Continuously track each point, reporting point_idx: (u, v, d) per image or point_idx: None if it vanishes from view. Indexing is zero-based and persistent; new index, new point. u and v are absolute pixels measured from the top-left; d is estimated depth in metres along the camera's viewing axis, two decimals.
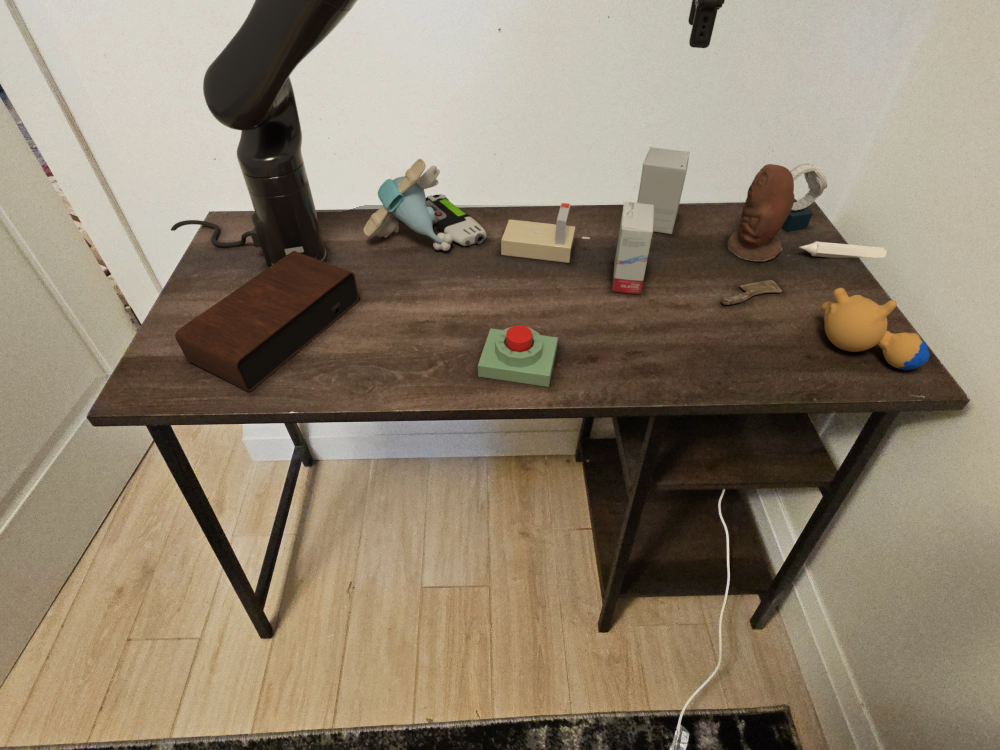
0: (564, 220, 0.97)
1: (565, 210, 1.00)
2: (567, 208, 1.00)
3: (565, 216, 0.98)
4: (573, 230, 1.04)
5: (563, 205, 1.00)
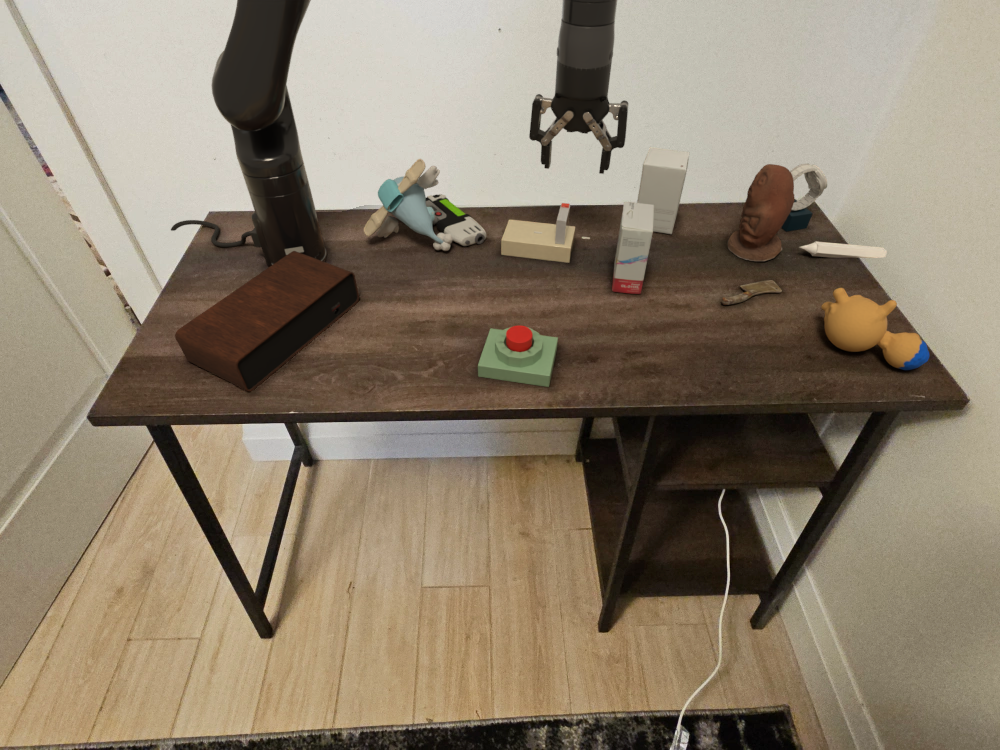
0: (564, 220, 0.97)
1: (565, 210, 1.00)
2: (567, 208, 1.00)
3: (565, 216, 0.98)
4: (573, 230, 1.04)
5: (563, 205, 1.00)
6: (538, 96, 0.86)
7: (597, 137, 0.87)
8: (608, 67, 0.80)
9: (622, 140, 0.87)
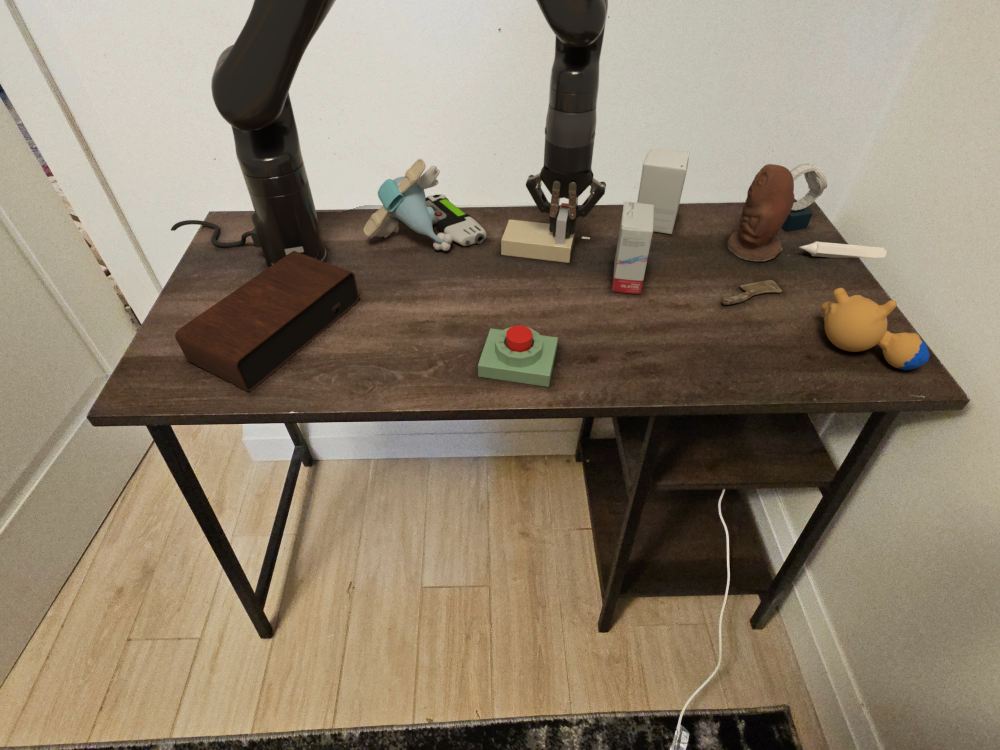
0: (564, 220, 0.97)
1: (565, 210, 1.00)
2: (567, 208, 1.00)
3: (565, 216, 0.98)
4: None
5: (563, 205, 1.00)
6: (529, 177, 0.96)
7: (570, 205, 0.96)
8: (591, 145, 0.89)
9: (585, 210, 0.97)
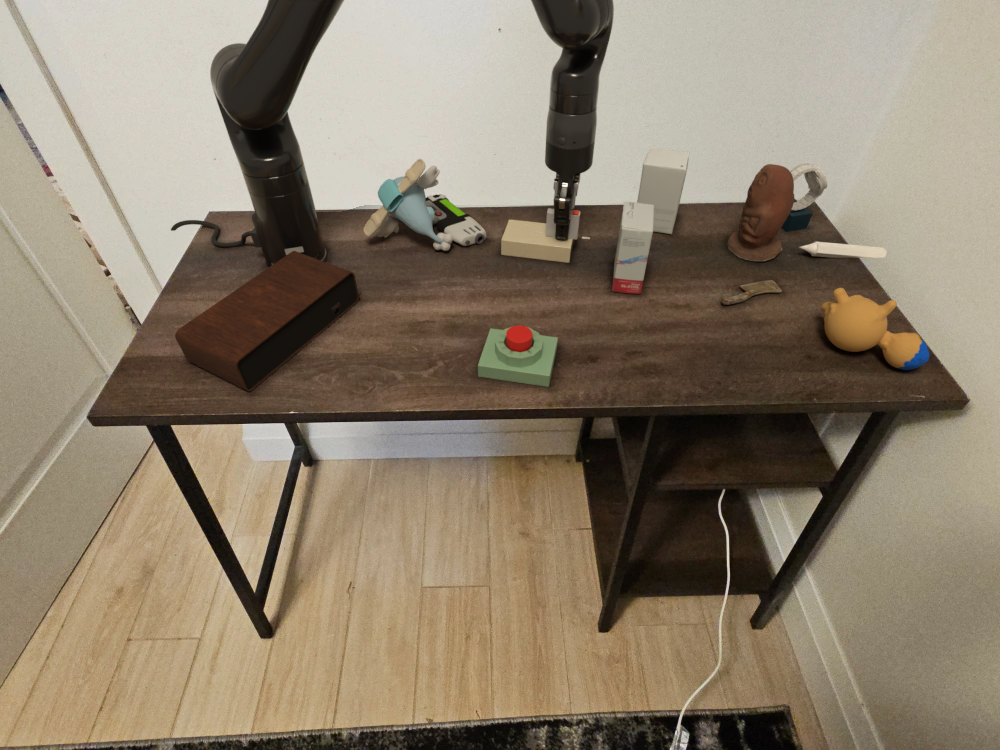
0: (548, 212, 0.99)
1: None
2: (571, 214, 0.99)
3: None
4: None
5: (574, 211, 0.99)
6: None
7: None
8: (558, 149, 0.89)
9: None
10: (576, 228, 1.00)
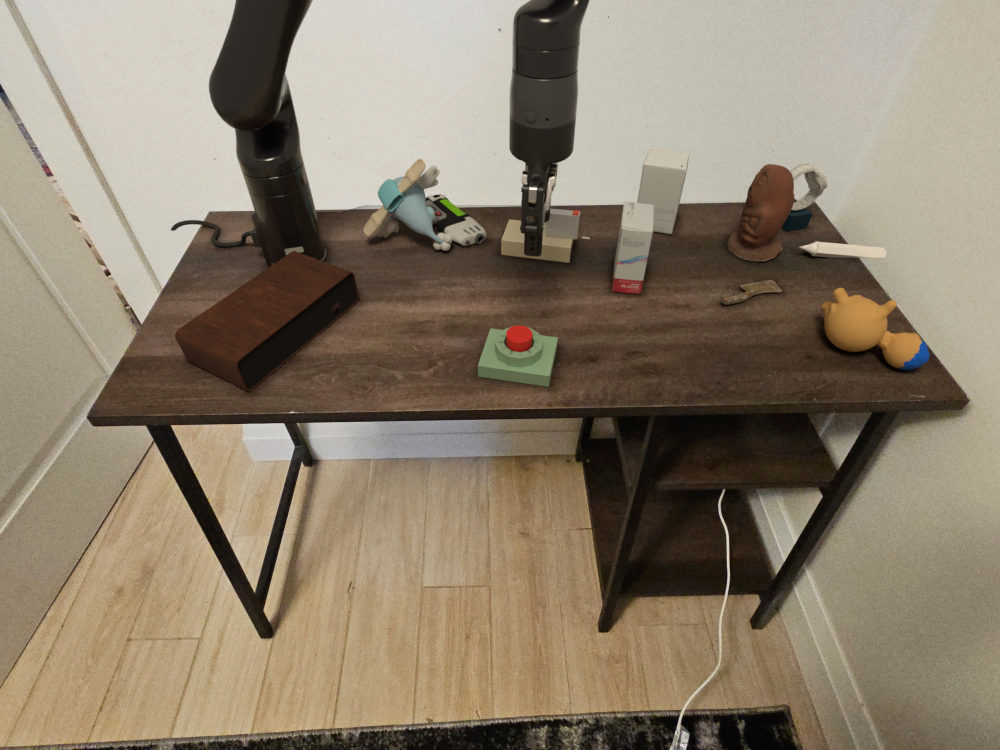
0: None
1: (567, 213, 0.99)
2: (571, 214, 0.99)
3: (555, 212, 0.99)
4: None
5: (574, 211, 0.99)
6: None
7: None
8: (525, 129, 0.65)
9: None
10: (576, 228, 1.00)
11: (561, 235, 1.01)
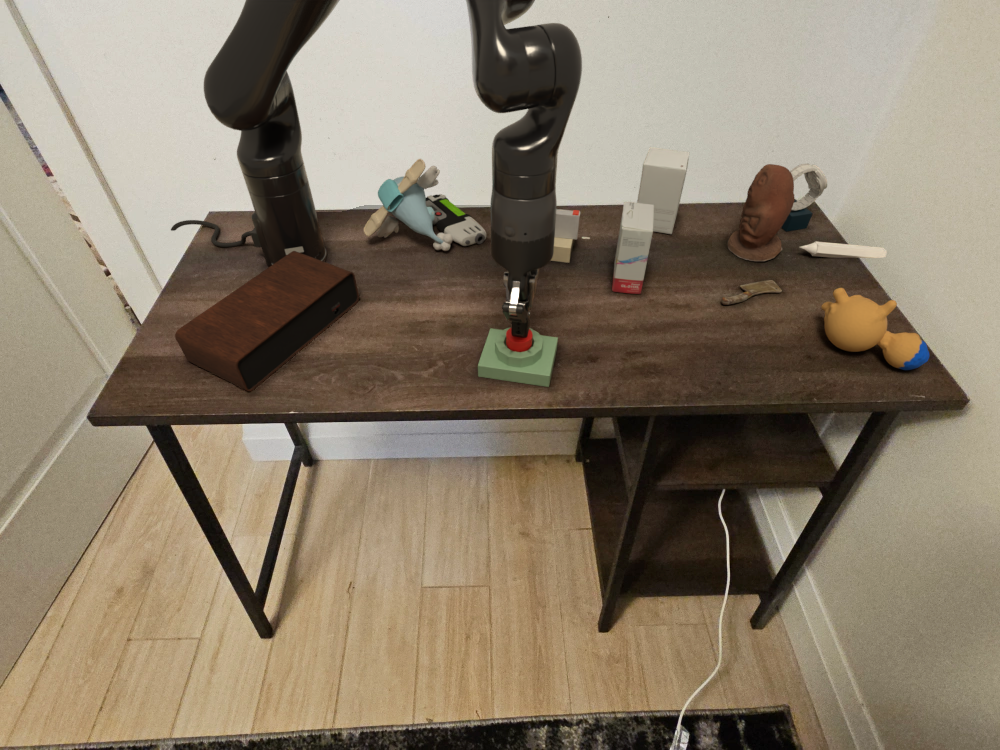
0: None
1: (567, 213, 0.99)
2: (571, 214, 0.99)
3: None
4: None
5: (574, 211, 0.99)
6: None
7: None
8: (505, 241, 0.67)
9: None
10: (576, 228, 1.00)
11: (561, 235, 1.01)
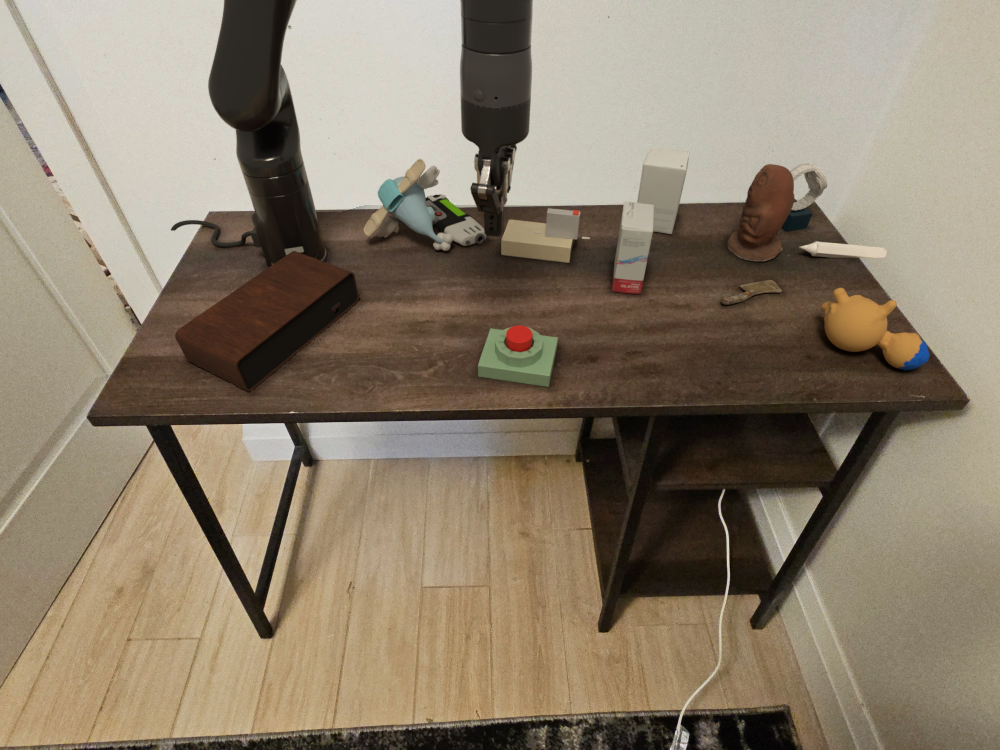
0: (548, 212, 0.99)
1: (567, 213, 0.99)
2: (571, 214, 0.99)
3: (555, 212, 0.99)
4: None
5: (574, 211, 0.99)
6: None
7: None
8: (474, 108, 0.61)
9: None
10: (576, 228, 1.00)
11: (561, 235, 1.01)
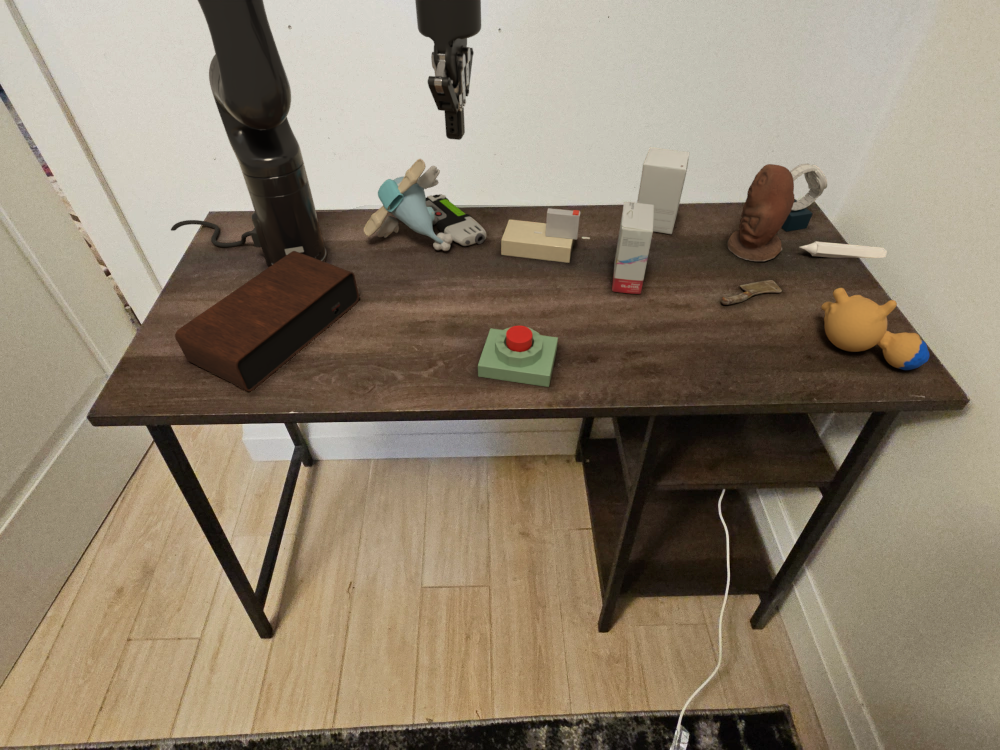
0: (548, 212, 0.99)
1: (567, 213, 0.99)
2: (571, 214, 0.99)
3: (555, 212, 0.99)
4: None
5: (574, 211, 0.99)
6: None
7: None
8: (426, 0, 0.65)
9: None
10: (576, 228, 1.00)
11: (561, 235, 1.01)
